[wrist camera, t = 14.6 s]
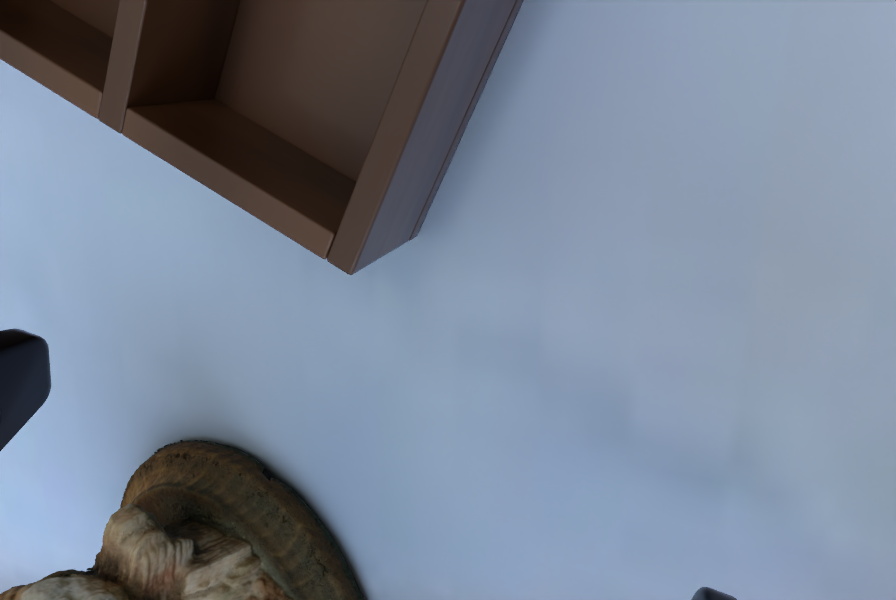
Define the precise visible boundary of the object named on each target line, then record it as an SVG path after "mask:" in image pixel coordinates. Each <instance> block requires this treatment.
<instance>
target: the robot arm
mask: <svg viewBox="0 0 896 600" xmlns="http://www.w3.org/2000/svg"><path fill="white" fill-rule="evenodd" d="M50 389H51V375H50V361H49V348H48V344H47V343H46V341H45V340H44V339H43V338H42V337H40V336H37V335H34V334H32V333H29V332H26V331H24V330H20V329H8V330H3V331H0V451H1V450H2V449H3V448H4V447H5V445H6V444H7V443H8V442H9V441H10V440H11V439H12V438H13V437H14V436H15V434H16V433H17V432H18V431H19V430H20V429H21V428H22V427H23V426H24V425H25V423H26V422H27V421H28V420H29V419H30V418H31V417H32V416H33V415H34V414H35V413H36V411H37V410H38V409H39V408H40V407H41V406H42V405H43V403H44V402H45V401H46V399H47V397H48V395H49V393H50ZM691 600H737V599H736V598H734V597H732V596H730V595H727V594H724V593H722V592H719V591H716V590H714V589H711V588H708V587H702V588H700V589H699V590H698V591H697V592H696V593H695V595H694V596H693V598H692V599H691Z"/></svg>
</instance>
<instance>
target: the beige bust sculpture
mask: <svg viewBox="0 0 896 600" xmlns="http://www.w3.org/2000/svg"><path fill="white" fill-rule="evenodd" d="M154 453H155V454H154V455H152V457H150V458H149V459H148V460H147V461H145V462H144V463H143V464H142V465H140V467H139V468H138V469H137V470H136V471H135V473H134V475H132V476H131V478H130V480H129V482H128V484H127V488H126V489H125V490H126V491H125V492H124V497H123V500H122V502H121V508H120V509H119V510H118V511H117V512H115V513H114V514H113V515H111V517H110V519H109V522H108V523H107V524H106V528H105V531H104V535H103V546H102V549H101V552H99V553H98V554H97V555H96V559H95V561H96V562H95V565H93V568H88V569H87V570H88V571H86V572H85V571H76V570H66V571H58V572H56V573H53V574H51V575H48V576H47V577H44V578H43V579H41V580H39V581H37V582H34V583H30V584H28V585H20V586H15V587H12V588H11V589H9V590H7V591H5V592H3V593H2V594H0V600H364V599H363V596H362V594H361V592H360V591H359V589H358V587H357V584H356V582H355V580H354V578H353V576H352V574H351V572H350V570H349V568H348V567H347V565H346V562H345V560H344V558H343V556H342V554H341V551H340V550H339V548H338V547H337V545H336V544H335V542H334V541H333V539H332V537H331V535H330V534H329V532H328V531H327V530H326V528H325V527H324V525H323V524H322V523H321V521H320V520H319V519H318V517H317V516H316V515H315V514H314V512H313V511H312V510H311V509H310V508H309V507H308V506H307V505H306V504H305V503H304V501H303V500H302V499H301V498H300V497H299V496H298V495H297V494H296V493H295V492H294V490H293V489H291V488H289V487H288V486H287V485H285V484H283V483H281V482H280V481H278V480H277V479H276V478H271V481H270V480H268V479H267V478H266V477H265V476H264V475H263V474H262V471H263V470H264V467H263V465H261V464H260V463H259V462H258V461H256V460H255V459H254V458H252V456H249V455H247V454H245V453H243V452H241V451H240V450H239V449H234V448H232V447H229V446H224V445H219V444H214V443H213V442H210V443H209V442H207V441H206V442H205V441H202V440H200V441H198V440H196V441H182V440H180V442H178V443H174V444H170V445H166V446H164V448H160V449H158V450H157V452H154ZM74 569H75V568H74ZM89 570H91V571H89Z"/></svg>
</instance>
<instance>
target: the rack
mask: <svg viewBox="0 0 896 600" xmlns="http://www.w3.org/2000/svg"><path fill="white" fill-rule="evenodd" d="M522 2H523V0H0V59H1V60H3V61H5V62H6V63H8V64H9V65H11V66H13V67H14V68H16V69H17V70H19V71H21V72H22V73H24V74H26V75H27V76H29V77H30V78H32V79H34V80H35V81H37V82H38V83H40V84H42V85H43V86H45V87H47V88H48V89H50V90H51V91H53V92H55V93H56V94H58V95H59V96H61V97H63V98H64V99H66V100H67V101H69V102H71V103H72V104H74V105H76V106H77V107H79V108H80V109H82V110H84V111H85V112H87V113H88V114H90V115H92V116H93V117H95V118H97V119H99V120H100V121H101V122H103V123H104V124H106V125H107V126H109V127H111V128H112V129H114V130H116V131H117V132H119V133H122V134H123V135H124V136H126V137H127V138H129V139H130V140H132V141H134V142H135V143H137V144H138V145H140V146H142V147H143V148H145V149H147V150H148V151H150V152H151V153H153V154H155V155H156V156H158V157H159V158H161V159H163V160H164V161H166V162H168V163H169V164H171V165H172V166H174V167H176V168H177V169H179V170H180V171H182V172H184V173H185V174H187V175H189V176H190V177H192V178H193V179H195V180H197V181H198V182H200V183H201V184H203V185H205V186H206V187H208V188H209V189H211V190H213V191H214V192H216V193H218V194H219V195H221V196H222V197H224V198H226V199H227V200H229V201H230V202H232V203H234V204H235V205H237V206H239V207H240V208H242V209H243V210H245V211H247V212H248V213H250V214H251V215H253V216H255V217H256V218H258V219H260V220H261V221H263V222H264V223H266V224H268V225H269V226H271V227H272V228H274V229H276V230H277V231H279V232H281V233H282V234H284V235H285V236H287V237H289V238H290V239H292V240H293V241H295V242H297V243H298V244H300V245H302V246H303V247H305V248H306V249H308V250H310V251H311V252H313V253H314V254H316V255H318V256H319V257H321V258H323V259H326V258H327V261H328V262H330V263H331V264H333V265H334V266H336V267H338V268H339V269H341V270H343V271H344V272H346V273H347V274H350V275H352V274H354V273H356V272H357V271H359V270H361V269H362V268H364V267H366V266H367V265H369V264H371V263H372V262H374V261H376V260H377V259H379V258H381V257H382V256H384V255H386V254H387V253H389V252H391V251H392V250H394V249H396V248H397V247H399V246H401V245H402V244H404V243H405V242H407V241H408V240H411V239H413V238H414V237H416V236H417V234H418V232H419V230H420V228H421V225H422V223H423V221H424V219H425V217H426V214H427V212H428V210H429V208H430V206H431V203H432V201H433V199H434V197H435V194H436V192H437V190H438V188H439V186H440V183H441V181H442V179H443V177H444V175H445V172H446V170H447V168H448V166H449V164H450V161H451V159H452V157H453V155H454V153H455V150H456V148H457V146H458V144H459V141H460V139H461V137H462V135H463V133H464V130H465V128H466V126H467V124H468V122H469V119H470V117H471V115H472V113H473V111H474V108H475V106H476V104H477V102H478V99H479V97H480V95H481V93H482V91H483V88H484V86H485V84H486V82H487V80H488V77H489V75H490V73H491V71H492V69H493V66H494V64H495V62H496V60H497V57H498V55H499V53H500V51H501V49H502V46H503V44H504V42H505V40H506V38H507V35H508V33H509V31H510V29H511V27H512V24H513V22H514V20H515V18H516V15H517V13H518V11H519V9H520V7H521V4H522Z"/></svg>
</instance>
